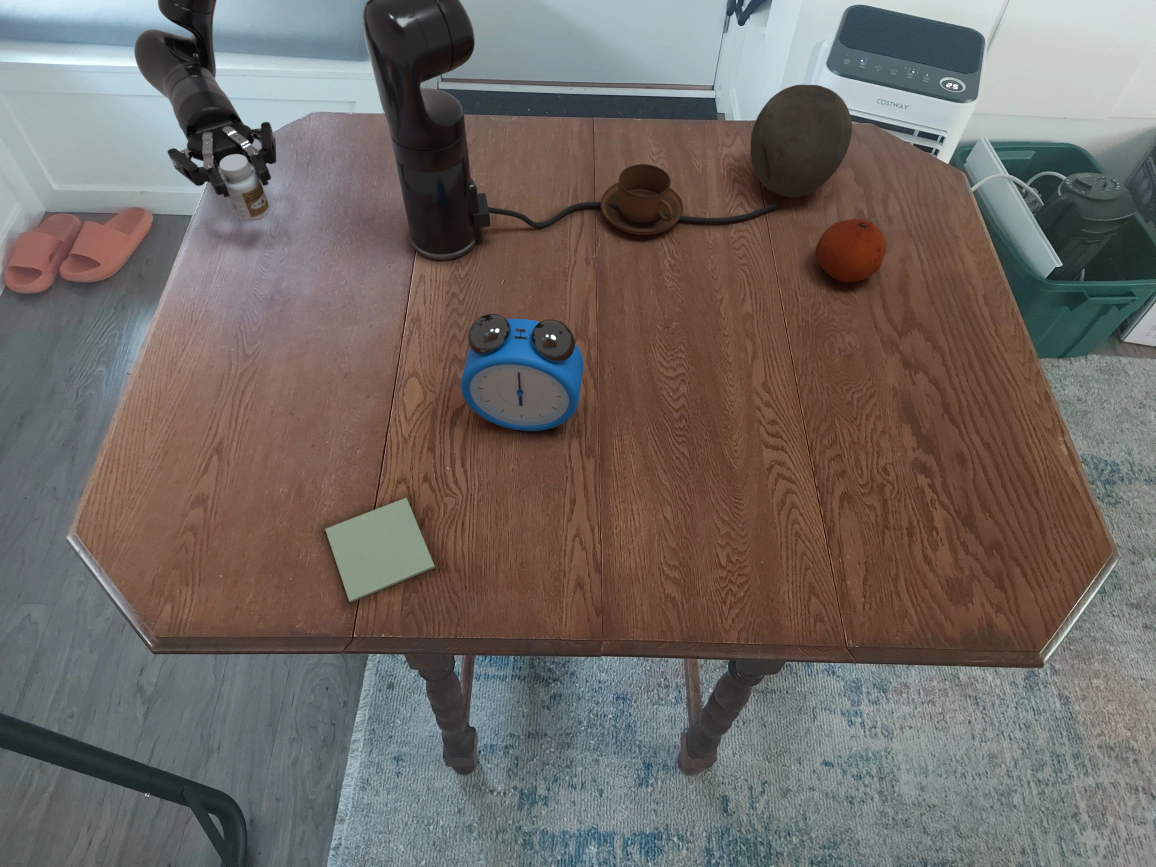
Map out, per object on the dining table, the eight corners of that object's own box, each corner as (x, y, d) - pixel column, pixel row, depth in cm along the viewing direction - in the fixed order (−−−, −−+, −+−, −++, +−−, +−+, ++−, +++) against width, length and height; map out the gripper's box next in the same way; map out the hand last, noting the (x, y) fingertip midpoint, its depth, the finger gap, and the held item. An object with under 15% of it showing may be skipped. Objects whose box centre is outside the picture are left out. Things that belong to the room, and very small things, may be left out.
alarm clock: (465, 427, 88) (451, 341, 76) (475, 386, 92) (463, 298, 80) (576, 439, 88) (580, 354, 76) (582, 397, 91) (586, 309, 79)
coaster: (407, 499, 83) (406, 497, 82) (435, 567, 78) (434, 565, 78) (326, 530, 80) (324, 528, 80) (350, 603, 76) (349, 601, 75)
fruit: (847, 242, 109) (866, 196, 102) (886, 282, 104) (909, 236, 98) (796, 259, 107) (812, 213, 100) (834, 300, 102) (854, 255, 96)
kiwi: (841, 216, 112) (876, 124, 100) (746, 214, 112) (770, 121, 100) (823, 158, 121) (853, 67, 108) (735, 156, 120) (755, 64, 108)
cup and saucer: (695, 208, 113) (702, 173, 108) (656, 253, 107) (661, 218, 102) (626, 180, 116) (629, 144, 111) (584, 222, 110) (586, 186, 105)
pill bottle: (261, 224, 101) (241, 175, 94) (231, 219, 101) (208, 170, 95) (275, 203, 103) (257, 154, 97) (245, 198, 103) (225, 149, 97)
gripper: (141, 105, 99) (175, 177, 90) (249, 77, 103) (291, 142, 95) (165, 156, 105) (199, 227, 97) (266, 127, 109) (307, 192, 101)
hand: (244, 185), depth 96 cm, fingers closed on pill bottle, 4 cm apart
